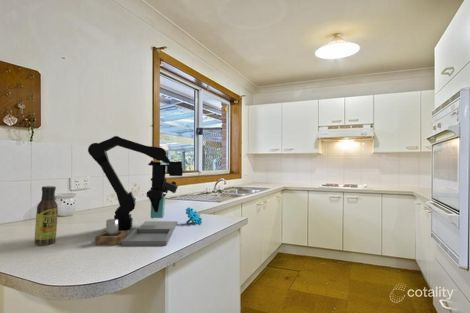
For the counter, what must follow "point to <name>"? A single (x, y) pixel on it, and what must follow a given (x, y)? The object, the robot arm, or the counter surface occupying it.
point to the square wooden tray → (110, 238)
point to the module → (160, 210)
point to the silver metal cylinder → (112, 227)
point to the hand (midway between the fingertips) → (157, 211)
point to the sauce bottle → (46, 217)
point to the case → (151, 234)
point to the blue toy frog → (193, 216)
